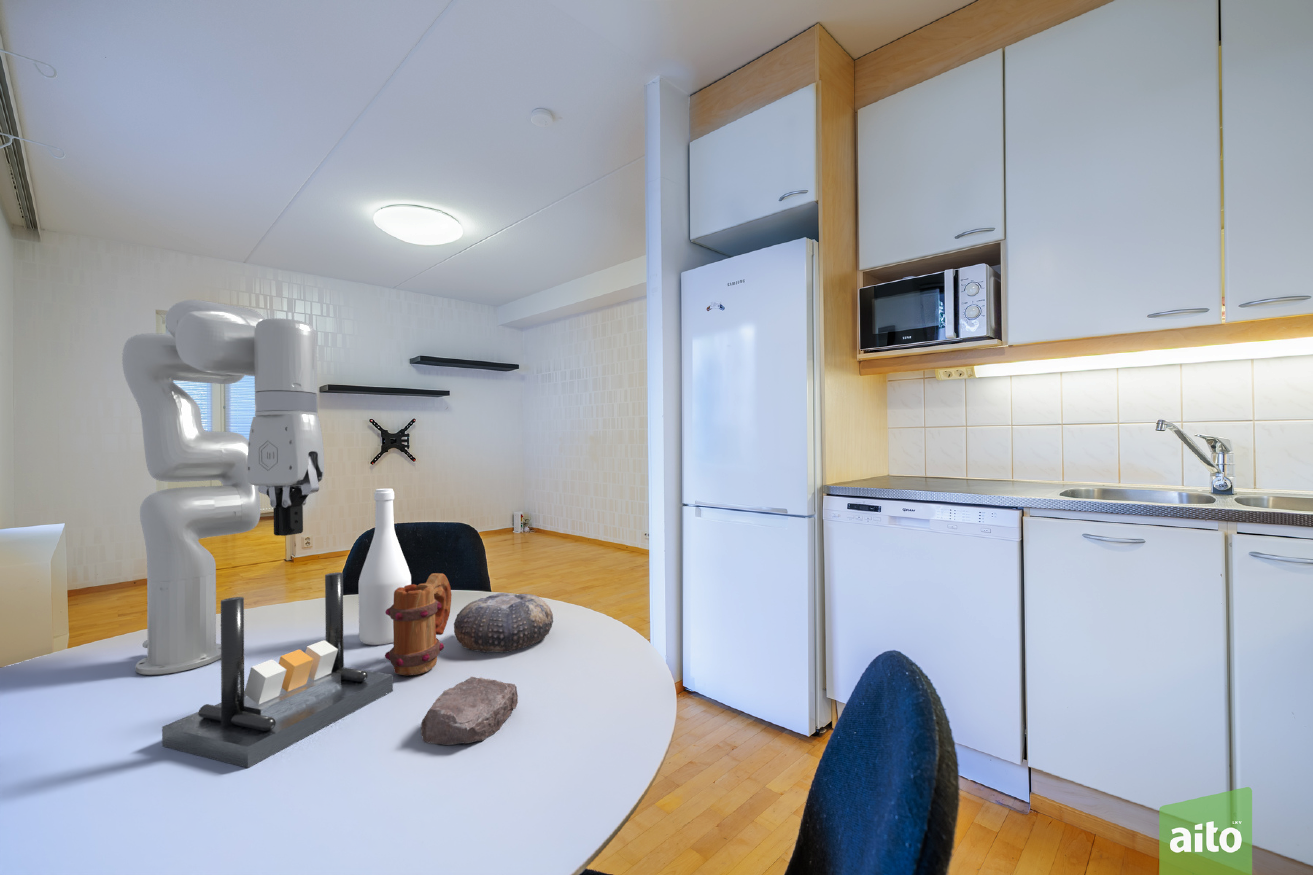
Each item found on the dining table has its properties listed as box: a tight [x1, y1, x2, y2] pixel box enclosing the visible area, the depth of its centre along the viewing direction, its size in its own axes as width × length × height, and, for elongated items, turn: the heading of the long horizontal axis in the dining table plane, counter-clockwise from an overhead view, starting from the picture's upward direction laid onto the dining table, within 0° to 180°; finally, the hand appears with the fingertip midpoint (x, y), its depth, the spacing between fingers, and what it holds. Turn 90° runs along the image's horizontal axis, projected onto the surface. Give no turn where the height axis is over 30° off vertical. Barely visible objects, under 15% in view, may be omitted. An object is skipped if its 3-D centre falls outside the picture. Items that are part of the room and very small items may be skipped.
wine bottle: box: [358, 488, 412, 646], centre depth 112 cm, size 10×10×30 cm
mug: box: [384, 572, 453, 677], centre depth 97 cm, size 15×8×15 cm, turn 168°
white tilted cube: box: [244, 659, 286, 705], centre depth 75 cm, size 3×3×4 cm
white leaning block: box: [304, 639, 338, 680], centre depth 83 cm, size 3×3×4 cm
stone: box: [420, 676, 519, 746], centre depth 76 cm, size 12×9×5 cm
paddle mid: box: [278, 649, 313, 692], centre depth 79 cm, size 3×3×4 cm
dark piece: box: [161, 572, 394, 769], centre depth 79 cm, size 16×22×18 cm
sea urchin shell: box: [453, 592, 554, 653], centre depth 109 cm, size 19×19×10 cm
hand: (288, 534), depth 80 cm, fingers closed
